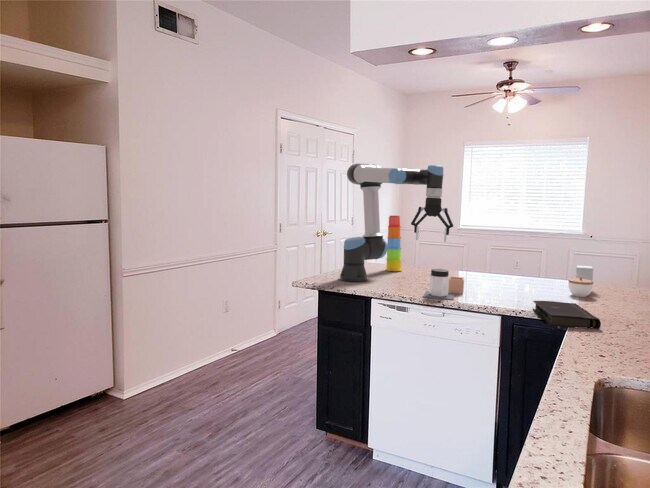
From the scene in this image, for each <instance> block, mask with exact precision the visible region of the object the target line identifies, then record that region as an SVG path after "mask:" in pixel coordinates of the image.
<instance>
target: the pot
mask: <svg viewBox="0 0 650 488" xmlns="http://www.w3.org/2000/svg"><path fill="white" fill-rule="evenodd" d="M464 285H465V277H464V276H463V277H461V276H449V287H448V293H455V295H456V294H458V295H463V294H464V289H465V286H464Z"/></svg>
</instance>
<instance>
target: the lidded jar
mask: <svg viewBox="0 0 650 488" xmlns="http://www.w3.org/2000/svg"><path fill="white" fill-rule="evenodd" d="M593 285H594V281H593V280H592V281H591V280H587V279H582V277H580V279H579V278H576V277H574V278H573V277H572V278H568V290H569V292H570V293H571V294H572V296H573V297H576V298H577V297H578V298H586V297H587V296H589V295H590V294H591V293H592V291H591V290H593Z"/></svg>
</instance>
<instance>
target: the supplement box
mask: <svg viewBox="0 0 650 488" xmlns="http://www.w3.org/2000/svg"><path fill="white" fill-rule="evenodd" d="M575 269H576V270H575V278H579V279H580V277H582V279H587V280H591V281H593V280H594V277H593V276H594V268H593V266H592V265H589V266H588V265H576V268H575ZM592 290H593V289H592ZM592 290H591V292H592Z"/></svg>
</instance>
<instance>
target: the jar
mask: <svg viewBox="0 0 650 488" xmlns="http://www.w3.org/2000/svg"><path fill="white" fill-rule="evenodd" d="M449 278H450V275H449V270H448V269H444V268H431V271H430V276H429V291H430V294H431V295H432V296H439V297H443V296H448V287H449Z"/></svg>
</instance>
